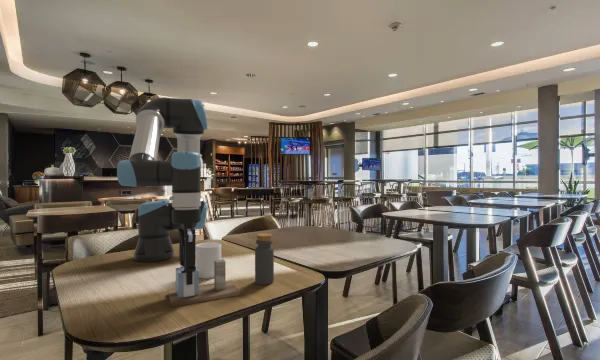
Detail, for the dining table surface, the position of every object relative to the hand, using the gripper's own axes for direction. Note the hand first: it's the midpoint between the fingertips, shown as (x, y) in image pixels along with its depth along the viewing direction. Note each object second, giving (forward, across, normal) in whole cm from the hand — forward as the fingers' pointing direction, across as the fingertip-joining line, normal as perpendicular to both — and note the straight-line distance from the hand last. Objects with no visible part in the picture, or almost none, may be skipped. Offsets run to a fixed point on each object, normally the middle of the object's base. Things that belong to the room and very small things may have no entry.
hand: (187, 292), depth 88 cm
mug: (+2, -17, +8) cm, 18 cm away
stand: (+1, 0, +4) cm, 5 cm away
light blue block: (0, 0, 0) cm, 0 cm away
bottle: (+2, -2, +24) cm, 24 cm away
